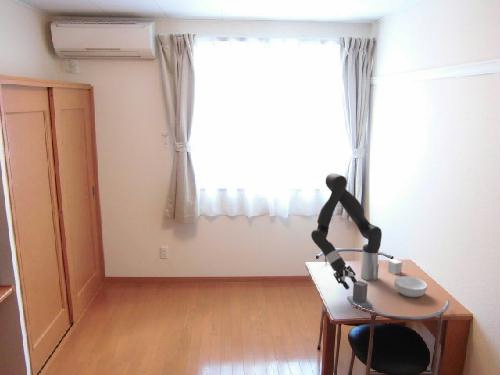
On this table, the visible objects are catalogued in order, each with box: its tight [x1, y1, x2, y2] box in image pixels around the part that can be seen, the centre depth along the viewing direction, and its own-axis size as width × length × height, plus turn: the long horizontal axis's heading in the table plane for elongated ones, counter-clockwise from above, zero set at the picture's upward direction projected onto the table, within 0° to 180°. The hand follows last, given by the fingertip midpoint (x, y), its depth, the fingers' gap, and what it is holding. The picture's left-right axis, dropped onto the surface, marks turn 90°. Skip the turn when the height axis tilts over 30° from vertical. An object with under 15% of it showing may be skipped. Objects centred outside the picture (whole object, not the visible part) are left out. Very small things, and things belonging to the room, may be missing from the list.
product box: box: [387, 258, 403, 275], centre depth 254 cm, size 6×6×7 cm
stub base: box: [346, 295, 373, 309], centre depth 212 cm, size 10×10×6 cm
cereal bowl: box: [394, 275, 428, 298], centre depth 223 cm, size 17×17×7 cm
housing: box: [352, 280, 369, 303], centre depth 211 cm, size 5×5×10 cm
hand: (352, 286), depth 214 cm, fingers open, 8 cm apart
